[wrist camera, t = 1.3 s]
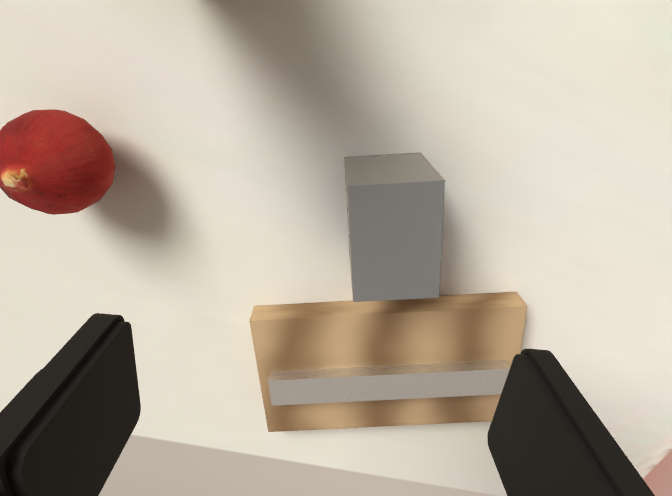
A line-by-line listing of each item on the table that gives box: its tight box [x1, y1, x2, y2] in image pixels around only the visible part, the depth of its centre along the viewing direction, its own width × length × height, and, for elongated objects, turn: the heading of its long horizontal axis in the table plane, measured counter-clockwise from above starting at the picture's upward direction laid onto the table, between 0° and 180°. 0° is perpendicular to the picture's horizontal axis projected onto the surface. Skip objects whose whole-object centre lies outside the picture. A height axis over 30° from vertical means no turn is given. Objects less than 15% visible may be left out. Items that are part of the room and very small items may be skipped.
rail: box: [268, 359, 511, 406], centre depth 32 cm, size 18×2×2 cm, turn 93°
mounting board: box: [250, 292, 527, 432], centre depth 34 cm, size 20×11×2 cm, turn 93°
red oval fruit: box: [0, 110, 115, 214], centre depth 24 cm, size 6×6×8 cm
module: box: [344, 153, 445, 302], centre depth 27 cm, size 5×8×7 cm, turn 3°
